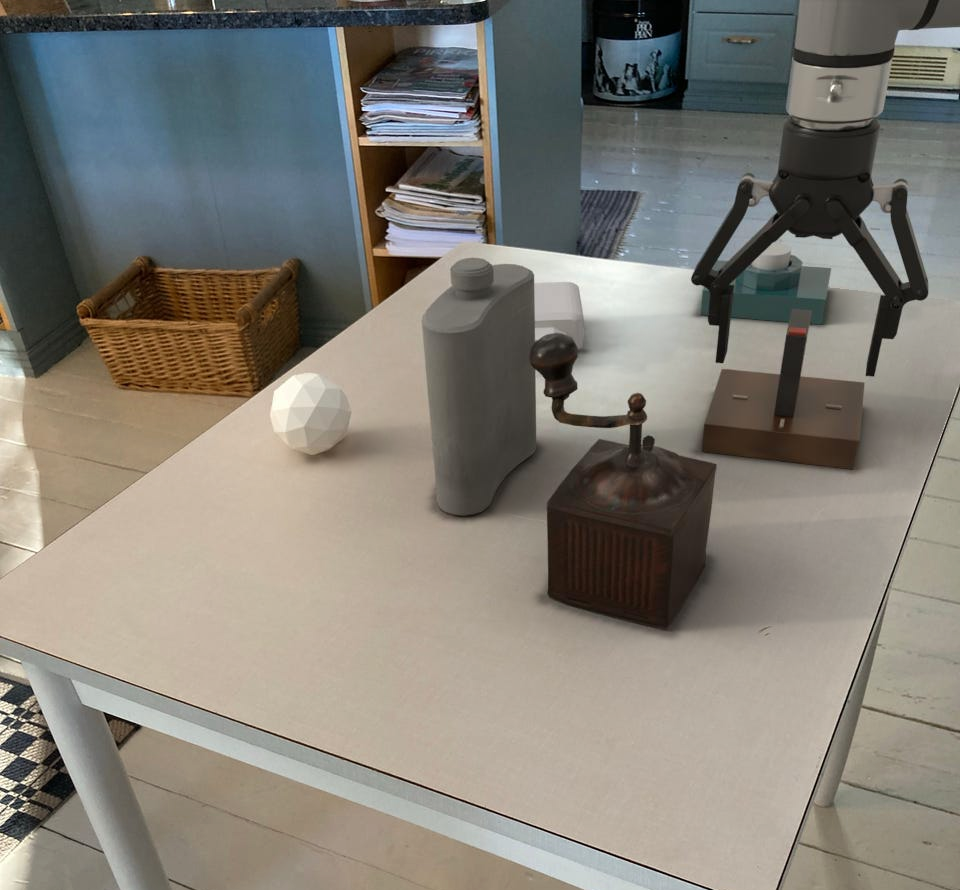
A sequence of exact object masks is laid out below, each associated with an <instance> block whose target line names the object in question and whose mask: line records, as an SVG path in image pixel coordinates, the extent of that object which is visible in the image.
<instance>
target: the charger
mask: <svg viewBox="0 0 960 890" xmlns="http://www.w3.org/2000/svg"><path fill="white" fill-rule="evenodd" d="M534 299H535V342H536V341H538V340H539V339H540V338H541V337H543V336H545V335H547V334H552V333H562V334H565V335H567V336H570V337H572V338H573V340H574V341H575V343H576V345H577V348H578V351H579V350H581V349H582V348H583V347H584V340H585V339H584V336H585V335H584V333H585V332H584V331H585V317H584V316H585V315H584V311H583V310H584V309H583V304H582V298H581V292H580V287H579V285H578V284H577V283H574V282H570V281H553V282H551V281H550V282H549V281H548V282H534Z"/></svg>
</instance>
